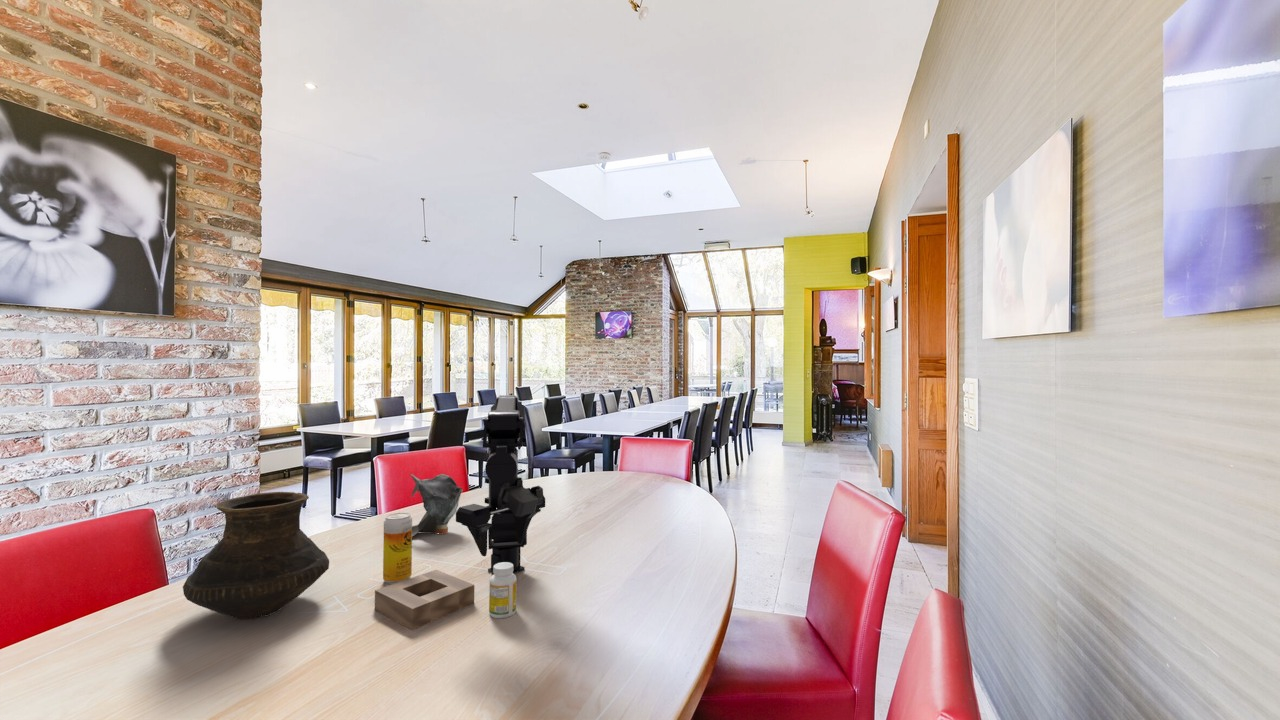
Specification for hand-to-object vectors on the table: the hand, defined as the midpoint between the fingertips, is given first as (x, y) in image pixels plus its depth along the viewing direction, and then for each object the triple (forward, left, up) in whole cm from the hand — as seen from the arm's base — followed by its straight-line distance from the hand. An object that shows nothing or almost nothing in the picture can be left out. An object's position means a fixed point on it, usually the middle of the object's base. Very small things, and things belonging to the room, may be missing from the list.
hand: (502, 549), depth 108 cm
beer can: (+4, -33, -13) cm, 36 cm away
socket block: (+8, -15, -13) cm, 21 cm away
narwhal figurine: (-21, -57, -13) cm, 62 cm away
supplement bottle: (0, 0, -13) cm, 13 cm away
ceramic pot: (+29, -41, -13) cm, 52 cm away
